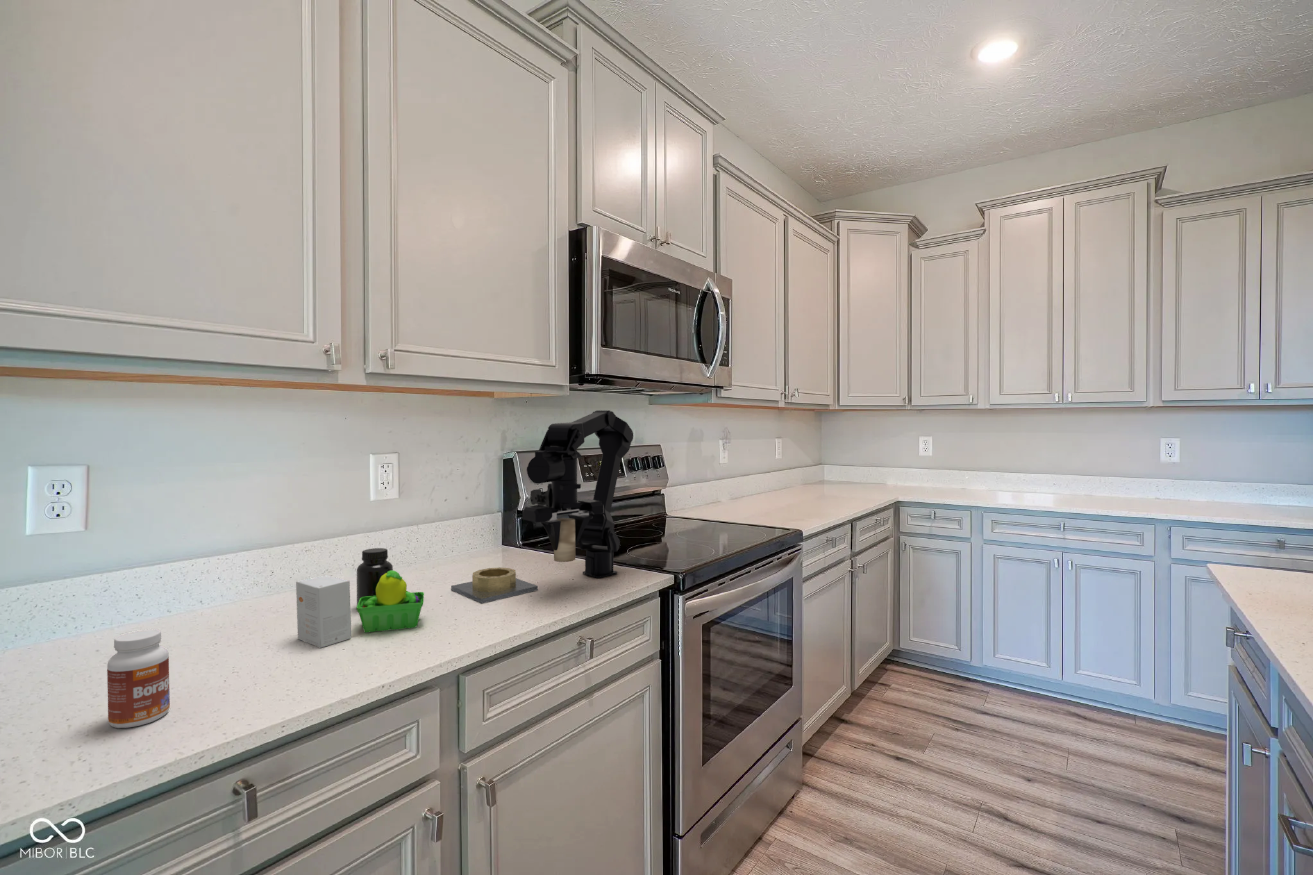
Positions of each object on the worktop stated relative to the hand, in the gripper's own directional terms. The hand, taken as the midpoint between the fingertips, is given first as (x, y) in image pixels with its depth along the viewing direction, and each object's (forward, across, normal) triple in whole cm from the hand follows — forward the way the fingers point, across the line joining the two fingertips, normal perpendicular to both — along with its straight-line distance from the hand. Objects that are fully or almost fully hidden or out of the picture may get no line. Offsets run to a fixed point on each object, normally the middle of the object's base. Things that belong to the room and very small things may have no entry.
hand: (564, 548), depth 137 cm
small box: (+10, +48, -6) cm, 49 cm away
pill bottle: (+10, +74, +8) cm, 75 cm away
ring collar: (+10, +11, -12) cm, 19 cm away
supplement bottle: (+10, +35, -18) cm, 41 cm away
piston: (+2, 0, 0) cm, 2 cm away
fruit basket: (+10, +37, -4) cm, 38 cm away
